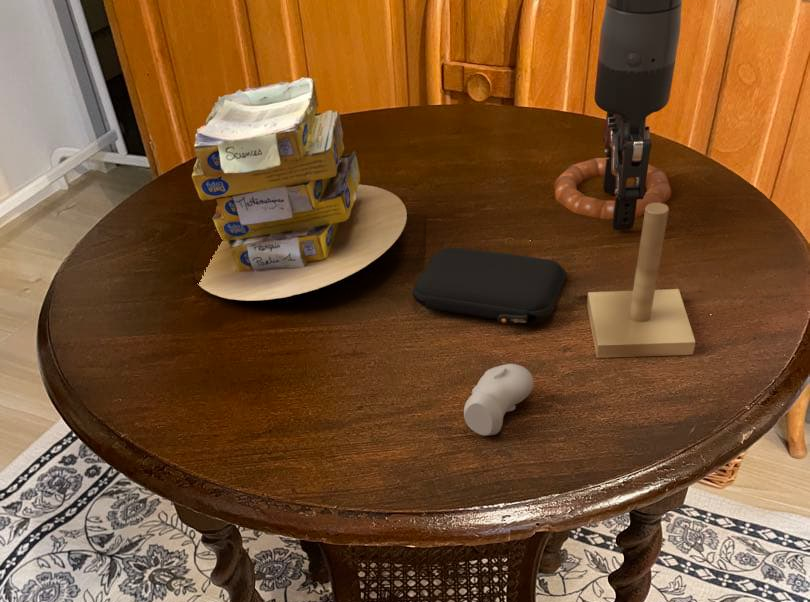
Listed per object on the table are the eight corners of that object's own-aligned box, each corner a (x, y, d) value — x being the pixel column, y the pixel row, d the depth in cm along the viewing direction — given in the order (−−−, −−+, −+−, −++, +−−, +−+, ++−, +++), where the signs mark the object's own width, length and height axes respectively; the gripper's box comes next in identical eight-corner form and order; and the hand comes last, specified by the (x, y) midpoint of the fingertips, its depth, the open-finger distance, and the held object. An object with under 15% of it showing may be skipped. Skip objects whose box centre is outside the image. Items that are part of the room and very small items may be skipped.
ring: (658, 172, 106) (661, 151, 104) (677, 226, 97) (681, 204, 95) (549, 177, 107) (551, 156, 105) (558, 231, 98) (560, 209, 96)
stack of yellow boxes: (154, 301, 94) (104, 146, 81) (245, 193, 109) (215, 49, 97) (369, 326, 88) (351, 164, 75) (433, 208, 103) (426, 58, 91)
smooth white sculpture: (499, 392, 81) (545, 396, 78) (451, 438, 77) (498, 444, 74) (488, 351, 79) (536, 353, 75) (438, 396, 75) (486, 401, 71)
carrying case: (403, 318, 88) (544, 340, 84) (401, 292, 86) (546, 313, 82) (437, 264, 95) (569, 282, 91) (436, 238, 93) (571, 256, 88)
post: (676, 301, 87) (699, 181, 78) (693, 355, 81) (720, 231, 72) (586, 304, 88) (599, 185, 79) (596, 358, 82) (611, 236, 73)
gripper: (689, 79, 80) (661, 240, 92) (664, 25, 89) (641, 178, 101) (607, 83, 80) (590, 243, 93) (591, 29, 90) (577, 181, 102)
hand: (617, 209), depth 97 cm, fingers open, 8 cm apart
